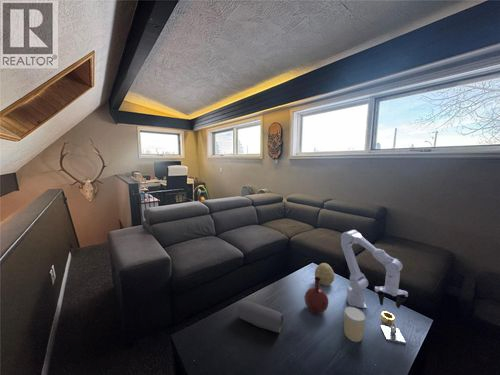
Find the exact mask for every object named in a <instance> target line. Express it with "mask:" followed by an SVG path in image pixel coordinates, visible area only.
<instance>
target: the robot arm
mask: <svg viewBox="0 0 500 375" xmlns="http://www.w3.org/2000/svg"><path fill="white" fill-rule="evenodd" d="M340 241H341V243H340V245H341V249H342V252H343V255H344V257H345V260H346V263H347V266H348V269H349V272H350V275H349V286H347V288H346V289H347V290H346V300H347V303H348V306H349V307H355V308H363V309H367V308H368V307H367V304H366V303H365V302H366V292H367V291H366V288H367V287H368V286H369V281H368V279H367V278H366V276H365V274H364V273H363V272H361V270H360V267H359V265H358V264H359V263H358V261H357V258H356V256H355V252H354V250H353V247H352V246H353V245H354V244H357V245H358V244H359V245H360V246H361V247H363V248H365V250H367V251H368V252H370V253H371V254H372V257H373V258H374V259H376V260H377V261H378V262H379V263H381V265H383V266H384V268H385V270H386V272H385V278H384V280H385V282H384V286H374V291H375V292H376V293H377V297H378V299H379V304H380V306H383V305H384V300H385V295H384V294H385V293H386V294H389V295H391V296H392V297H396V298H395V299H396V301H395V306H396V308H397V309H400V307H401V306H402V304H403V303H404V302H406V301H407V298H408V297H409V293H408V291H406V290H402V289H399V285H400V277H401V276H400V275H401V270H402V269H403V267H404V265H403V263H402V261H400V259H398V258H394V257H392V256H390V254H388V253H387V252H385V250H384V249H382V248H377V247H376V246H374V245H373V244H372V243H370V242H369V241H368V239H366V238H364V236H362V233H360V232H359V231H357V230H356V229H351V230H348V231H344V232H342V234H341V235H340ZM406 297H407V298H406Z"/></svg>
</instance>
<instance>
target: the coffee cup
mask: <svg viewBox="0 0 500 375" xmlns="http://www.w3.org/2000/svg"><path fill="white" fill-rule="evenodd" d="M343 313H344V316H343V317H344V318H343V319H344V320H343V322H344V324H343V328H344V335H345V336H346V338H347V339H348V340H350V341H352V342H355V343H357V342H361V341H362V338H363V335H364V328H365V323H366V319H367V318H366V315H365V314H364V312H363V311H362V310H361V309H358V307H356V306H347V307H345V309H344V310H343Z"/></svg>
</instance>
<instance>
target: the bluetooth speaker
mask: <svg viewBox="0 0 500 375" xmlns="http://www.w3.org/2000/svg"><path fill="white" fill-rule="evenodd" d="M237 317H238V318H239V319H241V320H242V321H245V322H247V323H250V324H252V325H254V326H256V327H259V328H261V329H263V330H267V331H268V330H269V331H271V332H275V333H279V334H280V333H281V331H282V328H283V323H284V314H283V313H281V312H279V311H277V310H275V309H272V308H270V307H266V306H264V305H262V304H258V303H256V302H255V303H254V302H251V301H248V300H241V302H239V306H238V310H237Z"/></svg>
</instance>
